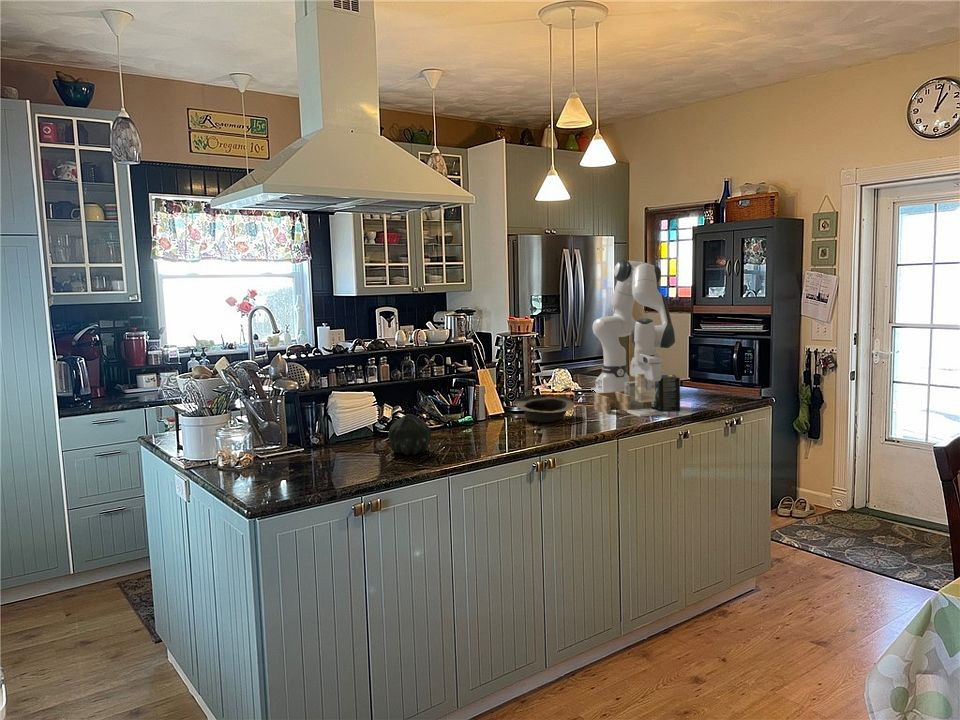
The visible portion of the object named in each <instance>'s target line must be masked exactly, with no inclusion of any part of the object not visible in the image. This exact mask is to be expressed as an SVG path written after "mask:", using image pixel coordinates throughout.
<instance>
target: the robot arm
mask: <svg viewBox="0 0 960 720" xmlns="http://www.w3.org/2000/svg"><path fill="white" fill-rule="evenodd" d="M613 277H614V278H615V280H616V283H615V286H614V287H615V288H614V290H613V293H612V296H611V299H610V305H611V307H613V309H614V311H613V312H614V313H613V315H610V316H609V315H607V316H602V317H598V318H597V319H595V320H594V321H593V323H592V333H593V335H594V336H595V337H597V339H598V340H599V342H600V344H601V347H602V354H603V365H602V366H601V373H600V375H598V376H597V378H596V379H595V380H594V385H595V387H592V388H590V390H591V389H592V390H594V391H595V392H596V393H605V392H617V391H624V382H630V376H631V377H634V378H635V373H641V374H644V379H646V380H647V382H648V384H647V386H646V390H652V384H653V381H660V380H661V377H662V375H663V374H662V373H663V371H662V370H663V369H662V364H661V363H662V362H663V358H662V357H661V356H660V355H658V353H657V352H656V351H657V350H656V349H657V348H662V349H669V348H671V347H672V346H673V345H674V344H675V343H676V340H677V339H676V335H677V334H676V331H675V329H674V326H673V323H672V319H671V315H670V309H669V307H668V302H667V298H666V297H665V295H664V294H662V293H660V291H659V289H658V284H659V282H660V280H661V277H662V270H661V268H660V267H659V266H658V265H656V264H651V263H647V262H644V261H636V260H628V259H620V260H618V261H617V262H616V264H615V266H614V269H613ZM635 302H636V303H638V304H639V305H641V306H643V307H648V308H650V309H653V310H654V311H657V312H658V314H659V316H660V318H659V319H660V323H661V324H658V325H657V324H656V325H655V322H654V320H653V319H652V318H638V319H637V320H636V319H635V317H633V310H634V305H635ZM630 335H631V344H633V346H634V350H633V351H634V354H633V356H632V358H631V360H630V364H629V365H630V366H629V374H630V376H629V374H628V366H627V350H626V348H625V347H624V346H623V345H622V344H621V342H620V338H624V337H625V338H626V337H628V336H630ZM592 390H591V391H592ZM594 391H593V392H594ZM595 392H594V393H595Z"/></svg>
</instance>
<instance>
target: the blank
mask: <svg viewBox="0 0 960 720" xmlns="http://www.w3.org/2000/svg"><path fill="white" fill-rule="evenodd" d="M634 381H635V401H637V402H651V403H652V402H654V401H655V381H653V384H652V390H646V386H647V384H648V382H647V380H646V379H644V374H641V373H635V377H634Z"/></svg>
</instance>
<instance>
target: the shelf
mask: <svg viewBox="0 0 960 720" xmlns="http://www.w3.org/2000/svg"><path fill="white" fill-rule="evenodd" d="M592 396H593V397H592V400H593V401H592V402H593V403H592V404H593V405H592V406H593V410H595V411H599V412H601V413H604V414H606V415H610V413H611V412H610V409H611V408H612V409H613V408H614V409H619V410H622V411H624V412H627V410H633V409H644V408H651V409H652V401H651V402H637V401H635V380H634V381H629V382H624V391H617V392H605V393H595V392H593V393H592Z"/></svg>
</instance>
